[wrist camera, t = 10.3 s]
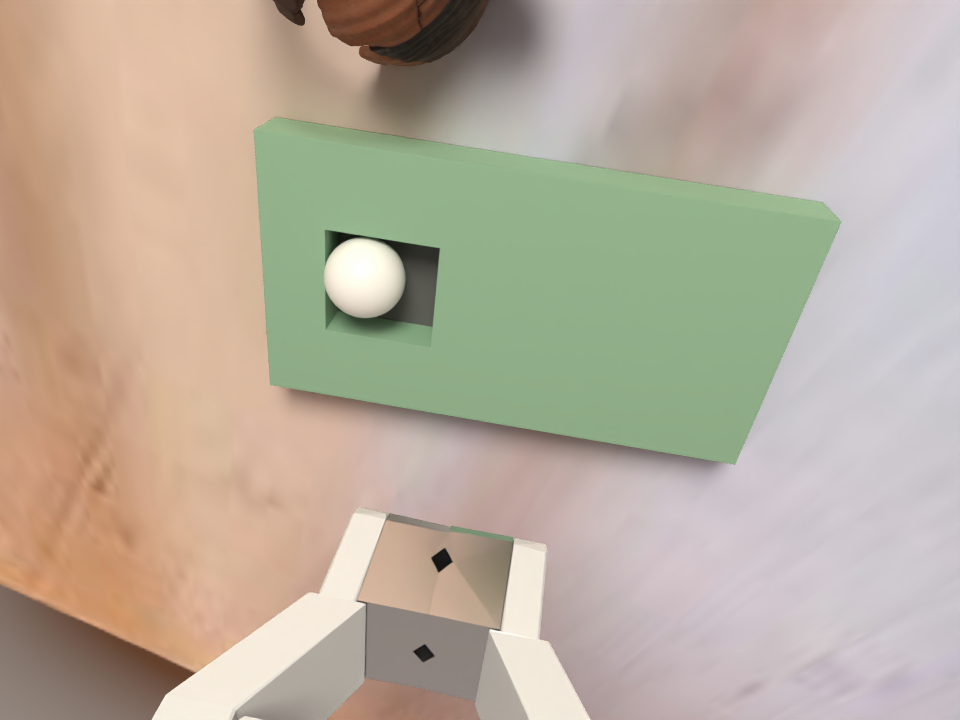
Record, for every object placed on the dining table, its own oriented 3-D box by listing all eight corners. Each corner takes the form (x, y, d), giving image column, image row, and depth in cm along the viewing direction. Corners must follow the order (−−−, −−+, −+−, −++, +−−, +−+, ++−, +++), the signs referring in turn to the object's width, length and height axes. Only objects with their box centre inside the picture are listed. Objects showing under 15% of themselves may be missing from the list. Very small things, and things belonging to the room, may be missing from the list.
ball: (432, 260, 33) (376, 235, 30) (405, 335, 33) (346, 318, 30) (381, 243, 36) (323, 218, 32) (356, 313, 36) (296, 295, 33)
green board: (823, 202, 31) (841, 221, 29) (726, 435, 38) (735, 464, 36) (275, 117, 32) (253, 129, 30) (286, 361, 39) (270, 384, 37)
